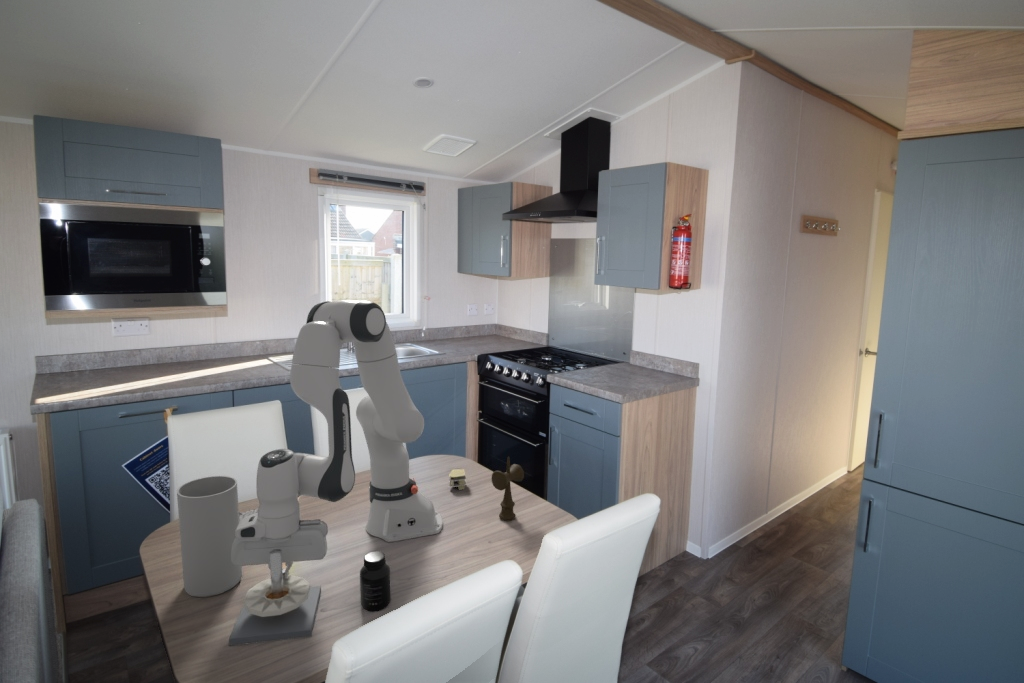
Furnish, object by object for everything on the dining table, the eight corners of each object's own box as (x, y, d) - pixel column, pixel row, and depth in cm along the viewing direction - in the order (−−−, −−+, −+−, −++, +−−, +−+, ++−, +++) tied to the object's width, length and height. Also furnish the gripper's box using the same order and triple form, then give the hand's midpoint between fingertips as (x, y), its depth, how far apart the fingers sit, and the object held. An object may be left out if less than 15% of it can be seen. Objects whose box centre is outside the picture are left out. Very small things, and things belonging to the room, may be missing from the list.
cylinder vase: (180, 603, 126) (172, 501, 122) (188, 574, 137) (181, 480, 133) (241, 591, 131) (235, 492, 127) (243, 564, 142) (238, 473, 138)
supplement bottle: (363, 595, 131) (362, 548, 129) (392, 594, 131) (391, 547, 129) (357, 613, 124) (356, 564, 122) (388, 612, 124) (387, 563, 123)
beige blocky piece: (444, 482, 198) (444, 467, 197) (469, 481, 199) (469, 467, 198) (444, 494, 188) (444, 479, 187) (470, 493, 189) (470, 478, 188)
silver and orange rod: (296, 600, 126) (293, 543, 124) (290, 618, 120) (288, 558, 118) (266, 603, 125) (263, 545, 122) (259, 621, 118) (256, 561, 116)
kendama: (489, 520, 169) (490, 458, 166) (510, 509, 176) (511, 450, 173) (504, 526, 165) (505, 463, 162) (524, 515, 173) (526, 455, 170)
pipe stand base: (321, 591, 132) (320, 585, 131) (310, 636, 116) (310, 629, 116) (249, 598, 128) (249, 592, 128) (229, 645, 113) (228, 639, 113)
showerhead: (248, 503, 161) (278, 507, 159) (249, 527, 162) (280, 531, 160) (225, 518, 152) (257, 522, 150) (227, 543, 153) (259, 547, 151)
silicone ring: (313, 577, 129) (312, 572, 129) (304, 612, 117) (303, 607, 116) (253, 583, 127) (253, 578, 126) (237, 619, 114) (237, 614, 114)
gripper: (329, 512, 130) (330, 566, 132) (235, 518, 126) (238, 574, 128) (325, 525, 124) (327, 581, 126) (227, 532, 119) (230, 590, 122)
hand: (281, 578), depth 127 cm, fingers closed, pressing on silicone ring
